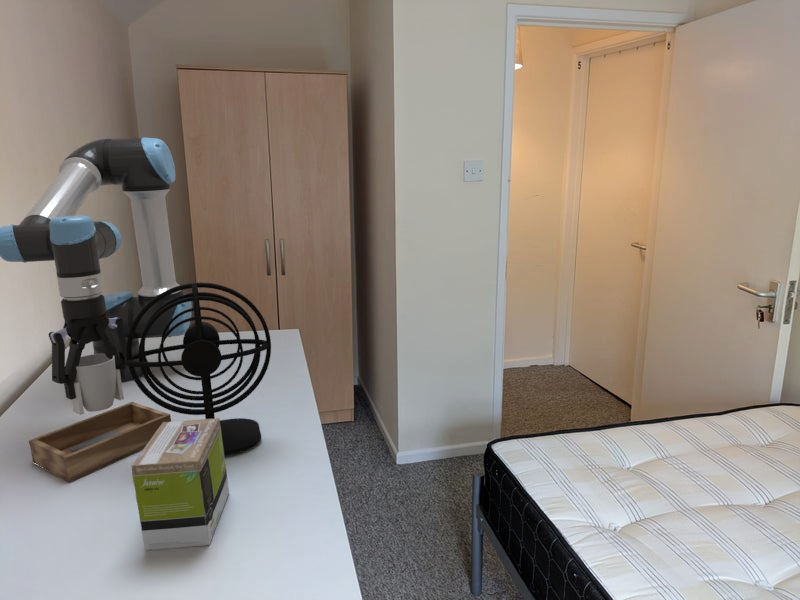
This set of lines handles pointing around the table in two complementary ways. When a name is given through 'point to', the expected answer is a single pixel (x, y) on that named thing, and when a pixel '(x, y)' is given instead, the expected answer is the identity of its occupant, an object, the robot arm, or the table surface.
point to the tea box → (181, 484)
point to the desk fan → (203, 362)
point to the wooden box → (96, 441)
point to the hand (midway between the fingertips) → (99, 405)
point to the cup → (97, 381)
